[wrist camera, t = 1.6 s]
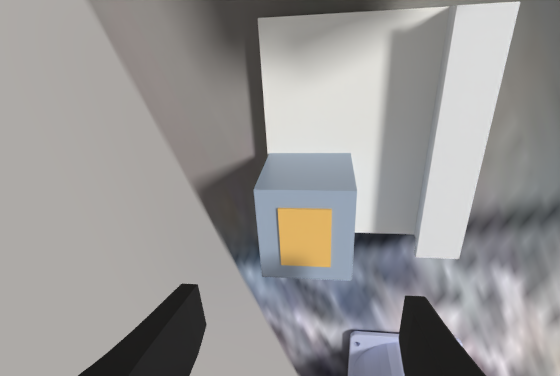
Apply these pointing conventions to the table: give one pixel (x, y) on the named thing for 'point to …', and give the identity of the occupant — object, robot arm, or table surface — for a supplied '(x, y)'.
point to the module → (306, 215)
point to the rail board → (392, 107)
